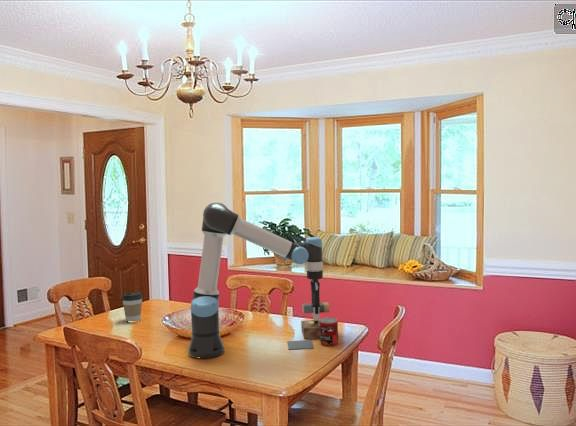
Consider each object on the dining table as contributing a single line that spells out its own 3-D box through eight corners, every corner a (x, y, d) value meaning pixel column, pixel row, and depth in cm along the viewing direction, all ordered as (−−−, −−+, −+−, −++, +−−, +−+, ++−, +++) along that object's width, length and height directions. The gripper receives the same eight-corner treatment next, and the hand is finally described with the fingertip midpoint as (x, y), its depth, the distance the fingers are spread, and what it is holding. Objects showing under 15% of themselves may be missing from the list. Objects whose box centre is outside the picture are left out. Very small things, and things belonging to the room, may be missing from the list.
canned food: (316, 344, 224) (316, 320, 223) (328, 340, 230) (327, 316, 229) (330, 348, 219) (329, 323, 218) (341, 343, 225) (341, 319, 224)
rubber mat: (288, 349, 218) (288, 349, 218) (287, 341, 229) (287, 341, 229) (313, 348, 219) (313, 347, 218) (311, 340, 229) (311, 339, 229)
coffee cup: (128, 318, 279) (126, 291, 278) (147, 318, 277) (146, 291, 276) (118, 323, 267) (117, 296, 267) (138, 324, 266) (137, 296, 265)
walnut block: (304, 339, 232) (303, 327, 232) (301, 330, 245) (301, 320, 245) (331, 337, 233) (331, 326, 233) (328, 329, 246) (327, 318, 246)
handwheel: (304, 324, 236) (303, 305, 235) (302, 321, 241) (302, 303, 240) (329, 323, 237) (329, 304, 236) (328, 320, 242) (327, 302, 241)
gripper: (325, 273, 228) (326, 323, 230) (320, 266, 247) (321, 313, 248) (308, 273, 228) (310, 324, 229) (304, 267, 246) (306, 314, 247)
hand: (315, 318), depth 239 cm, fingers closed on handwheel, 5 cm apart
